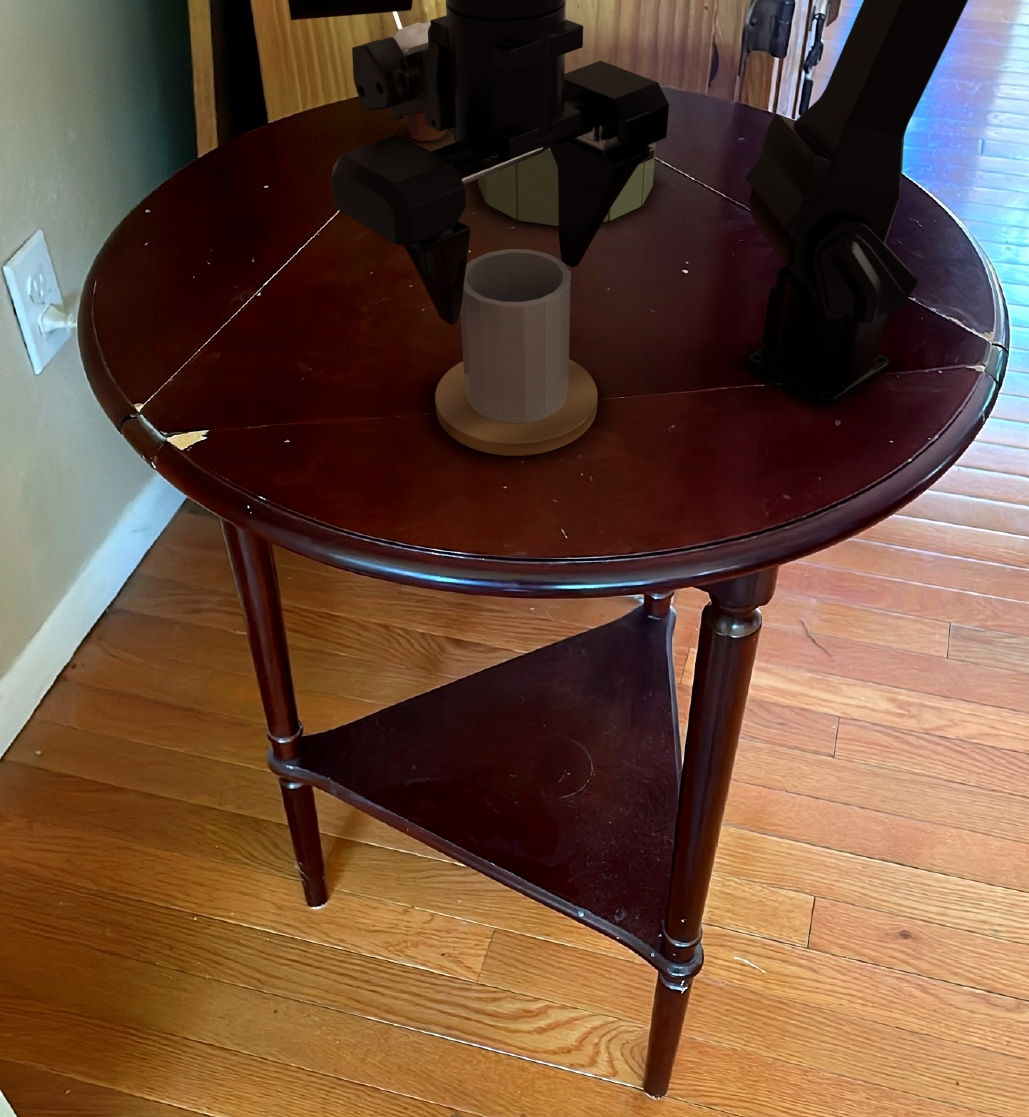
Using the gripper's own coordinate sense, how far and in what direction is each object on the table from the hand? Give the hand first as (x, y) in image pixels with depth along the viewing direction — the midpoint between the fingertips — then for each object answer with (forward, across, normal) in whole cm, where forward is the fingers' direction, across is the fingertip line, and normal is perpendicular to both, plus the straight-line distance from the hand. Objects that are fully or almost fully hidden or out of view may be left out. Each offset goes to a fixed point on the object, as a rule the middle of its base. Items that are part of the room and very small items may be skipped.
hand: (511, 291), depth 64 cm
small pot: (+7, 0, 0) cm, 7 cm away
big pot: (+8, -23, -20) cm, 32 cm away
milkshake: (+8, -21, -36) cm, 42 cm away
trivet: (+8, 0, 0) cm, 8 cm away
